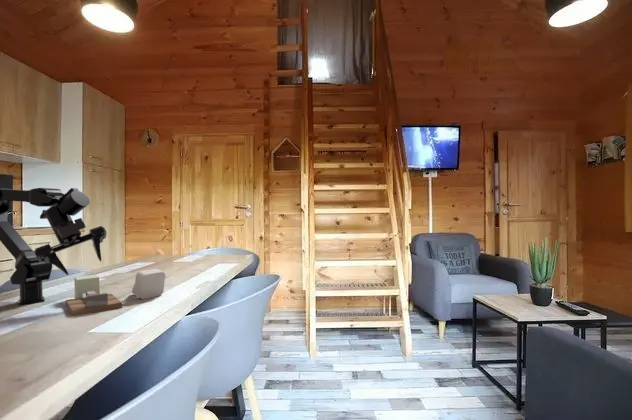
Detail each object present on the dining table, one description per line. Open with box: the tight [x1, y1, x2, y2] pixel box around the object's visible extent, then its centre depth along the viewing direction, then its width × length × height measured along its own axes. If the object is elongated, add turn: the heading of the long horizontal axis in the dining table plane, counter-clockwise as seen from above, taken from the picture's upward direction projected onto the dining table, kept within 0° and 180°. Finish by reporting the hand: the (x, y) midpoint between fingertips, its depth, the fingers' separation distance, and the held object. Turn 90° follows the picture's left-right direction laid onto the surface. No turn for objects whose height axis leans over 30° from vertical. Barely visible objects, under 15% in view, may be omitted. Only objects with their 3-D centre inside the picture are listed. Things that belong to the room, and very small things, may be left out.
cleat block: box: [73, 274, 101, 299], centre depth 118 cm, size 7×6×7 cm
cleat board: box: [65, 290, 123, 317], centre depth 108 cm, size 16×12×4 cm
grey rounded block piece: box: [131, 268, 166, 300], centre depth 121 cm, size 8×10×10 cm
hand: (84, 267), depth 112 cm, fingers open, 9 cm apart
